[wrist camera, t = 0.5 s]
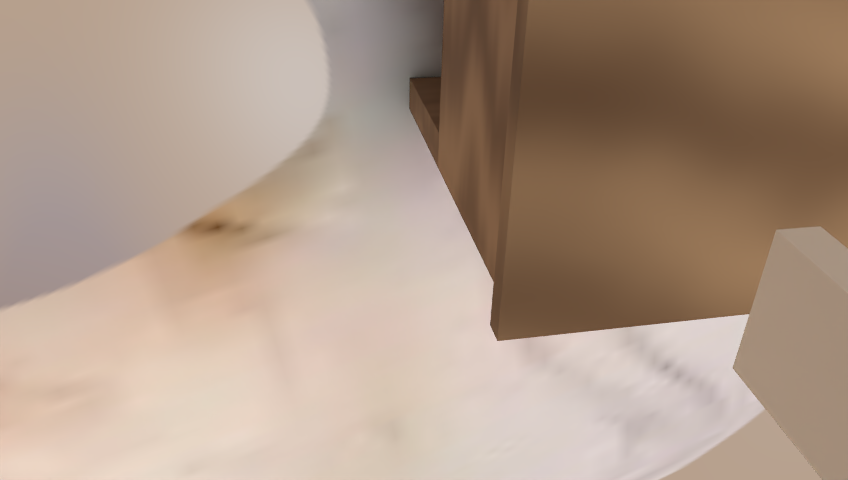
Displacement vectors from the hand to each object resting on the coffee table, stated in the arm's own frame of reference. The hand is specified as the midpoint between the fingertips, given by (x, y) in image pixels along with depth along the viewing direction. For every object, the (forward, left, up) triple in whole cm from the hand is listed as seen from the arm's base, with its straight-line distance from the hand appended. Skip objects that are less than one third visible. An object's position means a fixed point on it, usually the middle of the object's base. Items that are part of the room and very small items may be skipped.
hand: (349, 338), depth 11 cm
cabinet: (+1, +13, -26) cm, 29 cm away
